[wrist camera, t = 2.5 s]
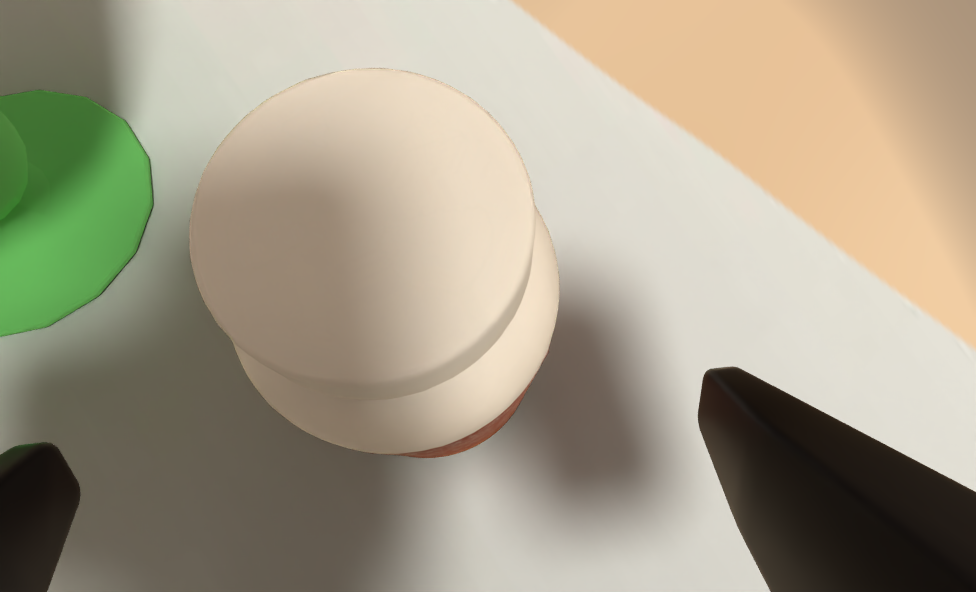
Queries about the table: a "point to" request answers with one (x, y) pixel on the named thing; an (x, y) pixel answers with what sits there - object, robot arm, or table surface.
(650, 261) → the table surface
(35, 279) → the cup
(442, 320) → the pill bottle
